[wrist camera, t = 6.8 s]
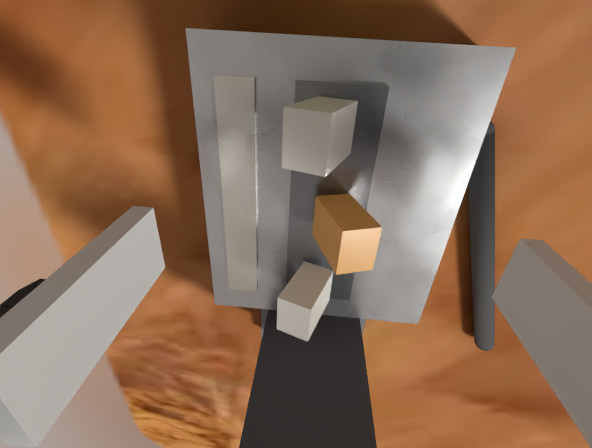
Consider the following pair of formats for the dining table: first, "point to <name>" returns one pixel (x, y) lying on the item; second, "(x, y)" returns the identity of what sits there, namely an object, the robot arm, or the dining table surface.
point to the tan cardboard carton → (345, 233)
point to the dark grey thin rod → (483, 240)
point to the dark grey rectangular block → (310, 388)
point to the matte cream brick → (304, 300)
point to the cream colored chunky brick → (317, 134)
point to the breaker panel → (351, 171)
